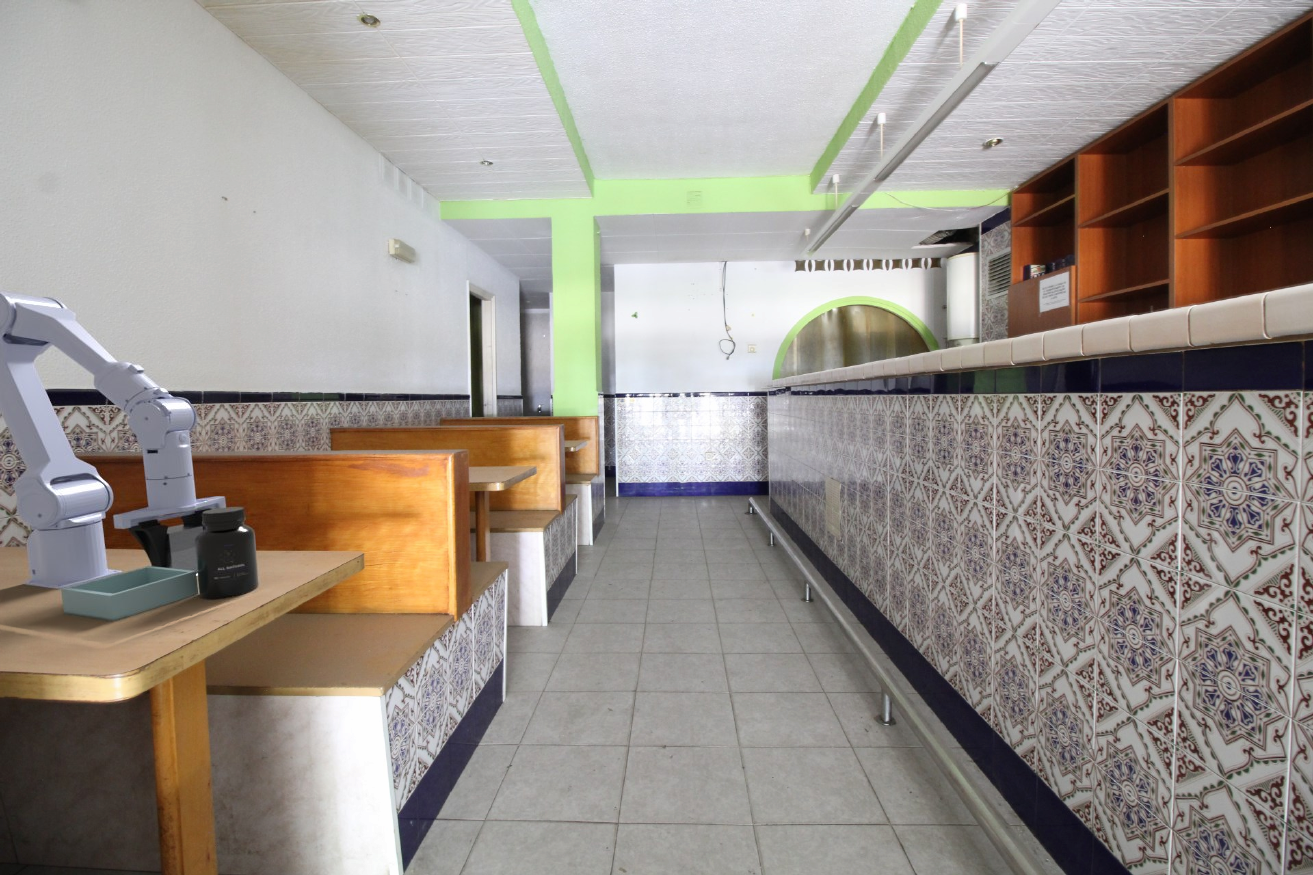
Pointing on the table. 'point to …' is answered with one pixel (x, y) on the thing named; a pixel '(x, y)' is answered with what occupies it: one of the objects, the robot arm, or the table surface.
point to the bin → (129, 592)
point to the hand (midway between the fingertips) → (179, 563)
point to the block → (182, 547)
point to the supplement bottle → (226, 554)
